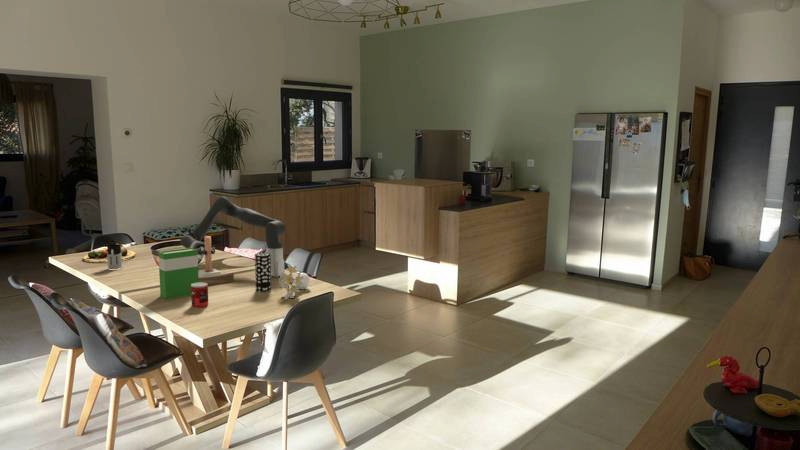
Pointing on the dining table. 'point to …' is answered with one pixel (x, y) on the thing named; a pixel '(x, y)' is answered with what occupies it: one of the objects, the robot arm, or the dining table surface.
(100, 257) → the wooden plate with food
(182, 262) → the green box
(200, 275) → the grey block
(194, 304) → the canned food
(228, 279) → the walnut track
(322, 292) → the dining table surface
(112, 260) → the black capped bottle
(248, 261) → the dining table surface
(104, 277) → the dining table surface
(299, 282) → the flower vase
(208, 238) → the terracotta dowel
